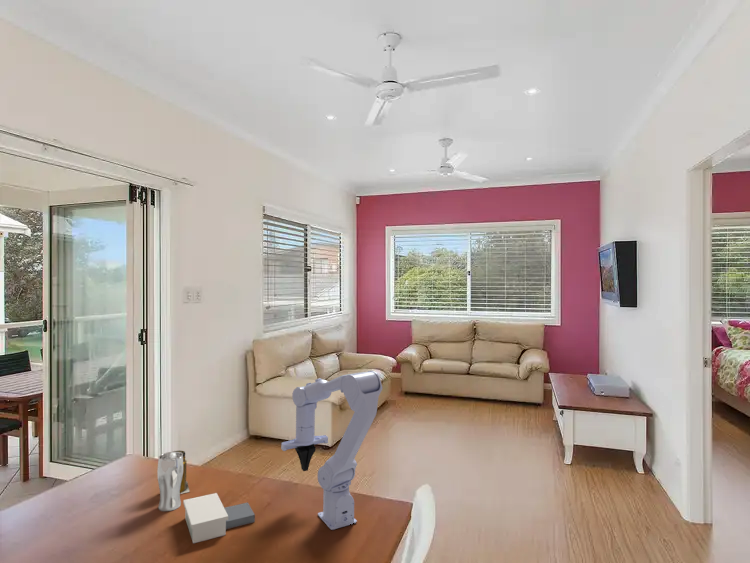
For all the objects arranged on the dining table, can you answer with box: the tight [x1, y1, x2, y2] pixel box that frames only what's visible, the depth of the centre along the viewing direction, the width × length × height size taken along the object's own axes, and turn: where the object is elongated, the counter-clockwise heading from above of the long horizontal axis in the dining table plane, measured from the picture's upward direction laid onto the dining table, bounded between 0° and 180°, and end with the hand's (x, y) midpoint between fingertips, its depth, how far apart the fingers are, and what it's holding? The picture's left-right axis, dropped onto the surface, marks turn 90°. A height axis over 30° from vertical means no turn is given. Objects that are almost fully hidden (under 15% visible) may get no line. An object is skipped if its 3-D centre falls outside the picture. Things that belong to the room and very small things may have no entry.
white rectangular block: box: [182, 492, 228, 544], centre depth 120 cm, size 15×9×5 cm, turn 31°
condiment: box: [172, 450, 190, 495], centre depth 142 cm, size 7×8×12 cm
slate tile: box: [224, 502, 256, 530], centre depth 123 cm, size 8×14×2 cm, turn 120°
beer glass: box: [156, 451, 183, 512], centre depth 131 cm, size 7×7×15 cm
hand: (304, 469), depth 136 cm, fingers closed
